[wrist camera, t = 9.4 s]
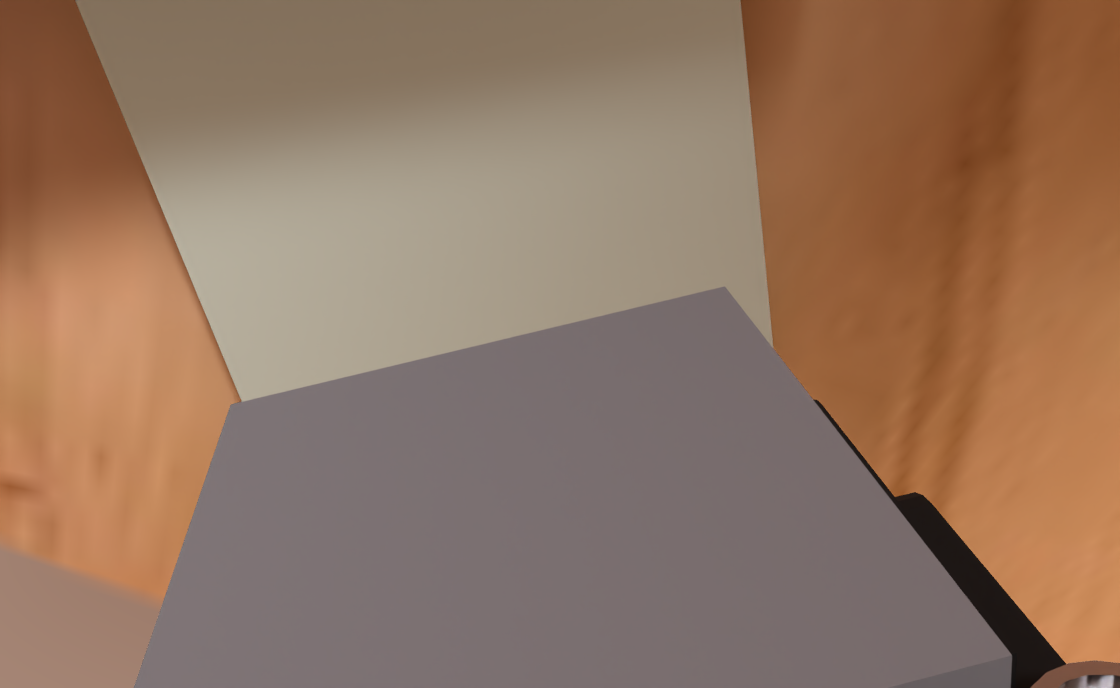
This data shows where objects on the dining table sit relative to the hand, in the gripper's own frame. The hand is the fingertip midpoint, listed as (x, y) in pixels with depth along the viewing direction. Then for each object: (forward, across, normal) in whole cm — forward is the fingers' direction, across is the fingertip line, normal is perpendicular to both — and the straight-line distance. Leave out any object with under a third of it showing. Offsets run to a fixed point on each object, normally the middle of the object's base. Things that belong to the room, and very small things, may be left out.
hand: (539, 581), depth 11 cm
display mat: (+14, 0, 0) cm, 14 cm away
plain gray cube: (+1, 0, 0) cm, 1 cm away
